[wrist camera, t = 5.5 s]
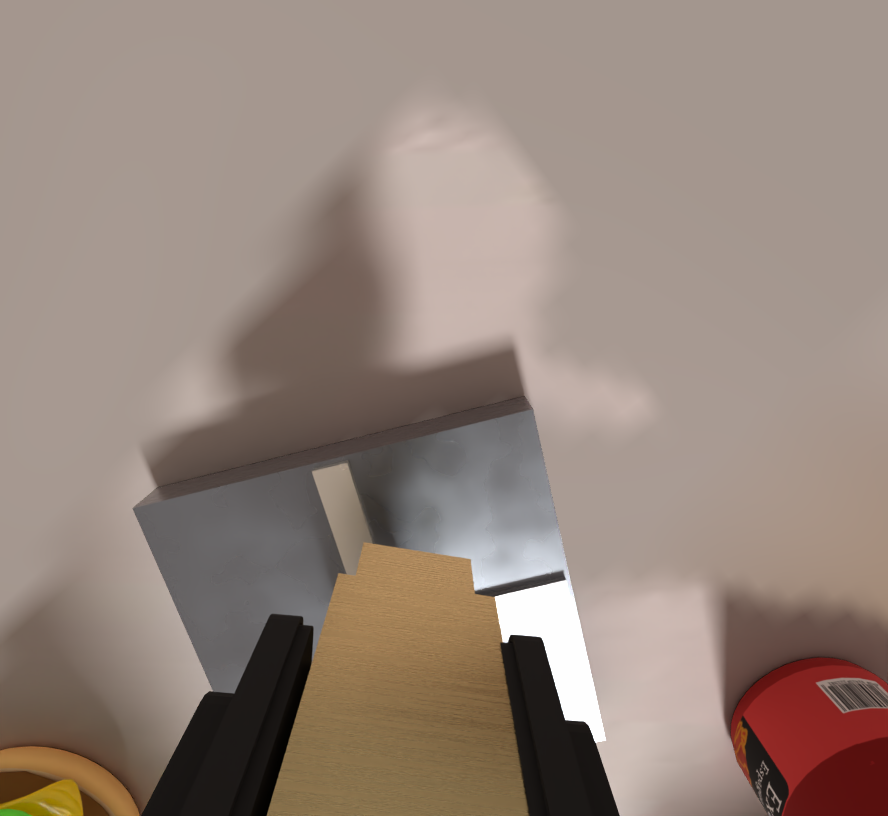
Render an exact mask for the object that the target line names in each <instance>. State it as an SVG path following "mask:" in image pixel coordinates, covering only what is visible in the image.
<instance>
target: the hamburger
mask: <svg viewBox="0 0 888 816" xmlns="http://www.w3.org/2000/svg"><path fill="white" fill-rule="evenodd" d="M0 816H140V815H139V811H138V808H137V806H136V804H135V803H134V801H133V799H132V797H131V795H130V793H129V792H128V791H127V790H126V788H125V787H124V786H123V785H122V783H121V782H120V781H119V780H118V779H116V778H115V777H114V776H113V775H112V774H111V773H110V772H108V771H107V770H105V769H104V768H102V767H101V766H99V765H98V764H96V763H95V762H93V761H91V760H88V759H86V758H84V757H82V756H80V755H77V754H74V753H71V752H68V751H65V750H60V749H55V748H49V747H36V746H27V747H15V748H8V749H4V750H0Z"/></svg>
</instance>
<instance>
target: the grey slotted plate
mask: <svg viewBox="0 0 888 816" xmlns="http://www.w3.org/2000/svg"><path fill="white" fill-rule="evenodd" d="M133 510H134V513H135V515H136V517H137V519H138V522H139V524H140V526H141V528H142V531H143V533H144V535H145V537H146V540H147V542H148V544H149V547H150V549H151V551H152V553H153V556H154V558H155V560H156V562H157V565H158V567H159V569H160V571H161V574H162V576H163V578H164V581H165V583H166V585H167V587H168V590H169V592H170V594H171V596H172V599H173V601H174V603H175V606H176V608H177V610H178V612H179V615H180V617H181V619H182V621H183V624H184V626H185V628H186V630H187V633H188V635H189V637H190V640H191V642H192V644H193V646H194V649H195V651H196V653H197V655H198V658H199V660H200V662H201V665H202V667H203V669H204V671H205V674H206V676H207V678H208V680H209V683H210V685H211V687H212V689H213V692H223V693H235V691H236V688H237V686H238V684H239V682H240V680H241V677H242V675H243V673H244V671H245V669H246V666H247V664H248V662H249V660H250V658H251V655H252V653H253V651H254V649H255V646H256V644H257V642H258V640H259V638H260V635H261V633H262V631H263V629H264V627H265V624H266V622H267V620H268V618H269V616H270V615H271V614H283V615H294V616H302V617H303V625H309V626H313V628H314V634H313V650H312V661H313V658H314V654H315V651H316V648H317V644H318V641H319V637H320V634H321V631H322V627H323V624H324V621H325V617H326V614H327V610H328V607H329V604H330V600H331V597H332V594H333V590H334V587H335V583H336V580H337V577H338V573H341V574H347V575H354V576H356V572H357V568H358V563H359V559H360V555H361V551H362V547H363V543H364V542H365V543H371V544H378V545H384V546H391V547H397V548H403V549H410V550H416V551H422V552H429V553H435V554H442V555H448V556H454V557H461V558H467V559H471V566H472V575H473V583H474V591H475V594H478V595H485V596H491V597H495V599H496V605H497V610H498V616H499V622H500V627H501V633H502V638H503V642H508V639H509V637H510V635H511V634H515V635H527V636H538V637H541V638H542V639H543V642H544V645H545V649H546V652H547V656H548V659H549V663H550V666H551V670H552V673H553V677H554V680H555V684H556V688H557V691H558V695H559V698H560V702H561V705H562V709H563V712H564V716H565V719H566V720H576V721H585V722H586V723H587V724H588V725H589V727H590V729H591V731H592V734H593V737H594V740H595V742H599V741H604V740H606V739H605V735H604V730H603V726H602V721H601V717H600V712H599V708H598V703H597V699H596V694H595V689H594V685H593V680H592V676H591V671H590V667H589V662H588V658H587V653H586V648H585V644H584V639H583V635H582V630H581V626H580V621H579V617H578V612H577V608H576V603H575V598H574V594H573V589H572V585H571V580H570V576H569V571H568V567H567V562H566V558H565V553H564V549H563V544H562V539H561V535H560V530H559V526H558V522H557V517H556V512H555V508H554V503H553V499H552V494H551V490H550V485H549V480H548V476H547V471H546V467H545V462H544V457H543V453H542V448H541V444H540V439H539V435H538V430H537V426H536V421H535V416H534V412H533V409H532V407H531V405H530V404H529V402H528V401H527V399H526V398H525V396H523V397H519V398H515V399H511V400H507V401H503V402H499V403H495V404H491V405H487V406H483V407H479V408H475V409H471V410H467V411H463V412H459V413H455V414H451V415H447V416H443V417H439V418H435V419H431V420H427V421H423V422H419V423H415V424H411V425H407V426H403V427H399V428H395V429H391V430H387V431H383V432H379V433H375V434H371V435H367V436H363V437H358V438H354V439H350V440H346V441H342V442H338V443H334V444H330V445H326V446H322V447H318V448H314V449H310V450H306V451H302V452H298V453H294V454H290V455H286V456H282V457H278V458H274V459H270V460H266V461H262V462H258V463H254V464H250V465H246V466H242V467H238V468H234V469H230V470H226V471H222V472H218V473H214V474H210V475H206V476H202V477H198V478H194V479H190V480H186V481H182V482H178V483H174V484H170V485H166V486H162V487H158V488H156V489H155V490H154V491H152V492H151V493H150V494H149V495H148V496H147V497H145V498H144V499H143V500H142V501H141V502H139V503H138V504H137V505H136V506H135V507H134V508H133Z"/></svg>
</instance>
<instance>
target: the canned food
mask: <svg viewBox="0 0 888 816" xmlns="http://www.w3.org/2000/svg"><path fill="white" fill-rule="evenodd" d="M731 739H732V743H733V747H734V751H735V755H736V759H737V762H738V764H739V766H740V768H741V769H742V771H743V773H744V775H745V776H746V778H747V780H748V781H749V783H750V785H751V786H752V788H753V790H754V791H755V793H756V795H757V797H758V798H759V800H760V802H761V803H762V805H763V807H764V808H765V810H766V812H767V813H768V815H769V816H888V684H887V683H886V682H885V681H883V680H882V679H881V678H879V677H878V676H876V675H875V674H873V673H871V672H869V671H868V670H866V669H864V668H862V667H860V666H858V665H856V664H853V663H851V662H848V661H845V660H840V659H835V658H811V659H804V660H800V661H796V662H793V663H789V664H786V665H784V666H782V667H780V668H778V669H776V670H773V671H772V672H770V673H769V674H767V675H766V676H764V677H763V678H761V679H760V680H758V681H757V682H756V683H755V684H754V685H753V686H752V687H751V688H750V689H749V690H748V691H747V692H746V693H745V695H744V696H743V697H742V699H741V700H740V701H739V703H738V705H737V707H736V709H735V711H734V714H733V718H732V722H731Z"/></svg>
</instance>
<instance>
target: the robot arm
mask: <svg viewBox="0 0 888 816" xmlns="http://www.w3.org/2000/svg"><path fill="white" fill-rule="evenodd" d="M313 634H314V628H313V626H309V625H303V617H302V616H294V615H283V614H271V615H270V616H269V618H268V620H267V622H266V624H265V627H264V629H263V631H262V633H261V635H260V638H259V640H258V642H257V644H256V646H255V649H254V651H253V653H252V655H251V658H250V660H249V662H248V664H247V666H246V669H245V671H244V673H243V675H242V677H241V680H240V682H239V684H238V686H237V688H236V691H235V693H223V692H211V691H209V692H208V693H207V694H205V695H204V697H203V699H202V700H201V702H200V704H199V706H198V707H197V709H196V711H195V713H194V715H193V717H192V719H191V721H190V723H189V725H188V727H187V729H186V731H185V733H184V734H183V736H182V738H181V740H180V742H179V744H178V746H177V748H176V750H175V752H174V754H173V756H172V758H171V759H170V761H169V763H168V765H167V767H166V769H165V771H164V773H163V775H162V777H161V779H160V781H159V783H158V785H157V786H156V788H155V790H154V792H153V794H152V796H151V798H150V800H149V802H148V804H147V806H146V808H145V810H144V811H143V813H142V815H141V816H267V813H268V810H269V806H270V803H271V799H272V796H273V793H274V789H275V786H276V783H277V779H278V776H279V772H280V769H281V766H282V762H283V759H284V756H285V752H286V749H287V745H288V742H289V739H290V735H291V732H292V729H293V725H294V722H295V718H296V715H297V712H298V708H299V705H300V702H301V698H302V695H303V691H304V688H305V685H306V681H307V678H308V675H309V671H310V668H311V664H312V650H313ZM500 645H501V651H502V657H503V662H504V668H505V674H506V680H507V686H508V692H509V698H510V704H511V710H512V715H513V721H514V727H515V733H516V739H517V745H518V751H519V757H520V763H521V769H522V774H523V780H524V786H525V792H526V798H527V804H528V810H529V816H620V815H619V812H618V809H617V806H616V803H615V800H614V797H613V794H612V791H611V788H610V785H609V782H608V779H607V776H606V773H605V770H604V767H603V764H602V761H601V758H600V755H599V752H598V749H597V746H596V743H595V740H594V737H593V734H592V731H591V729H590V727H589V725H588V724H587V723H586V722H585V721H576V720H566V719H565V716H564V712H563V709H562V705H561V702H560V698H559V695H558V691H557V688H556V684H555V680H554V677H553V673H552V670H551V666H550V663H549V659H548V656H547V652H546V649H545V645H544V642H543V639H542V638H541V637H538V636H527V635H515V634H511V635H510V637H509V639H508V642H503V643H501V642H500Z"/></svg>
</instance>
